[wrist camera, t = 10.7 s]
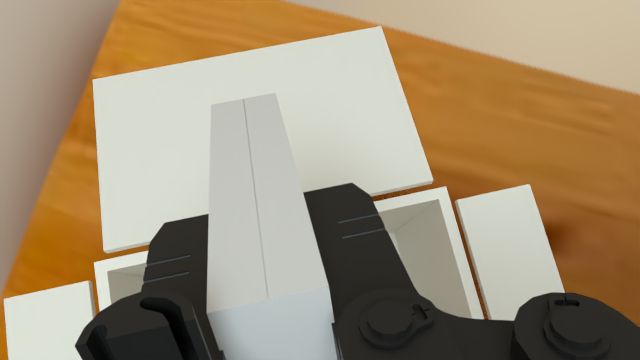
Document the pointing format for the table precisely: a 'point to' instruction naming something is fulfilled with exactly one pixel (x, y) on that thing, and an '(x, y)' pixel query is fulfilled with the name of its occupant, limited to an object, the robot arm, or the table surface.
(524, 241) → the carton
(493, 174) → the table surface
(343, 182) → the front flap
